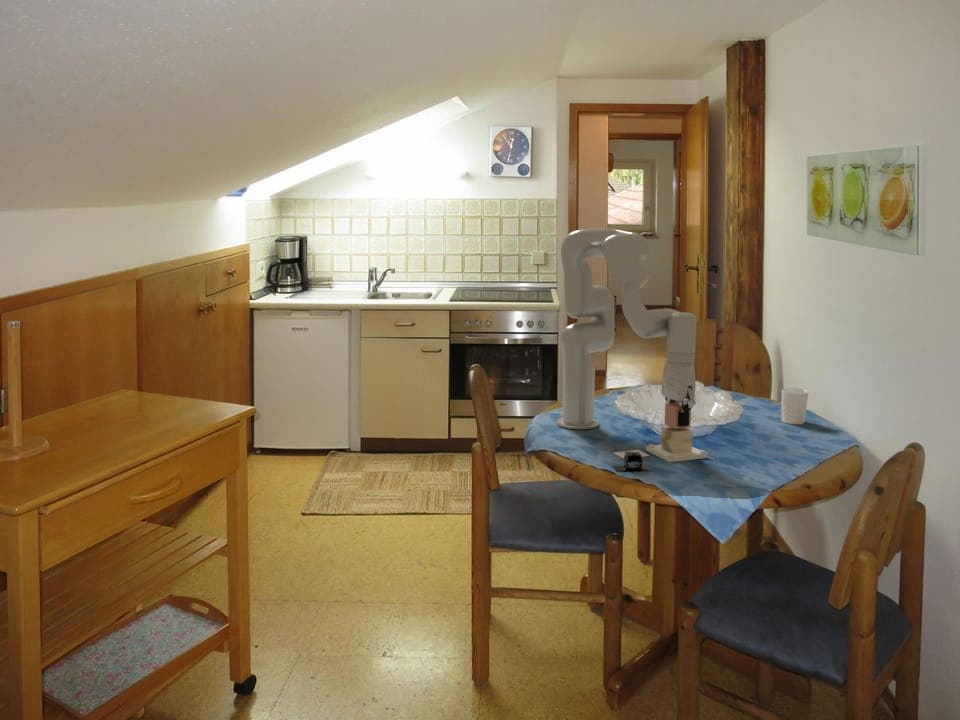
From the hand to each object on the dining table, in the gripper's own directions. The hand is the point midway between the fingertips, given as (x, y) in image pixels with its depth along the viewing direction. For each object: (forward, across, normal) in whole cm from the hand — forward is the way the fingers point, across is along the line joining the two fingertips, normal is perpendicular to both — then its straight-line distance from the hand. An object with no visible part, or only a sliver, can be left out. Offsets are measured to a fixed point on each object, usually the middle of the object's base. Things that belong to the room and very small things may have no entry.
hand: (677, 422), depth 261 cm
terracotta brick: (+1, 0, 0) cm, 1 cm away
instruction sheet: (+9, -4, -12) cm, 15 cm away
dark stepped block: (+10, +8, -18) cm, 22 cm away
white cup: (+9, -18, +54) cm, 58 cm away
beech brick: (+8, 0, 0) cm, 8 cm away
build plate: (+9, 0, 0) cm, 9 cm away
